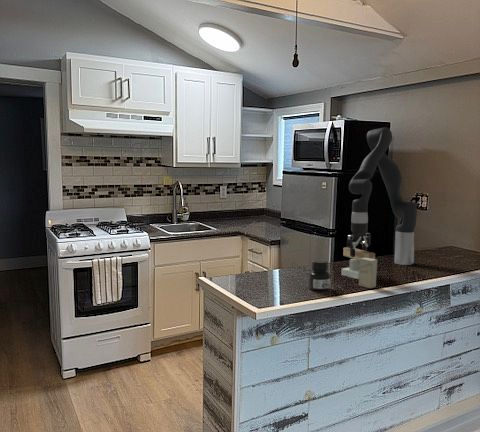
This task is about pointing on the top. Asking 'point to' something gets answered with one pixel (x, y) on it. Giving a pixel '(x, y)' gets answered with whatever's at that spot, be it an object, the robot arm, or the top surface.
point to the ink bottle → (319, 276)
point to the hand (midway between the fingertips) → (358, 255)
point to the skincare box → (368, 272)
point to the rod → (358, 254)
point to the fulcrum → (352, 269)
